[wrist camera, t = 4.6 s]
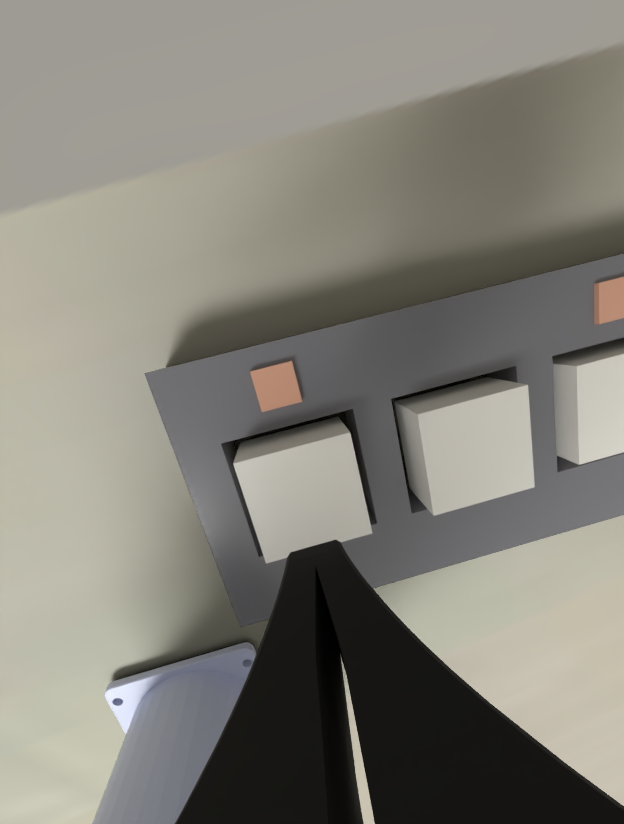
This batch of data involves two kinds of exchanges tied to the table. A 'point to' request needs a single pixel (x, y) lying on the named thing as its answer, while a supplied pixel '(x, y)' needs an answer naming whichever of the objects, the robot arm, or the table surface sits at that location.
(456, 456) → the key middle
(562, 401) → the key outer
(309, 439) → the key inner
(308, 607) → the robot arm
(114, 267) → the table surface
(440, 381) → the keypad frame
